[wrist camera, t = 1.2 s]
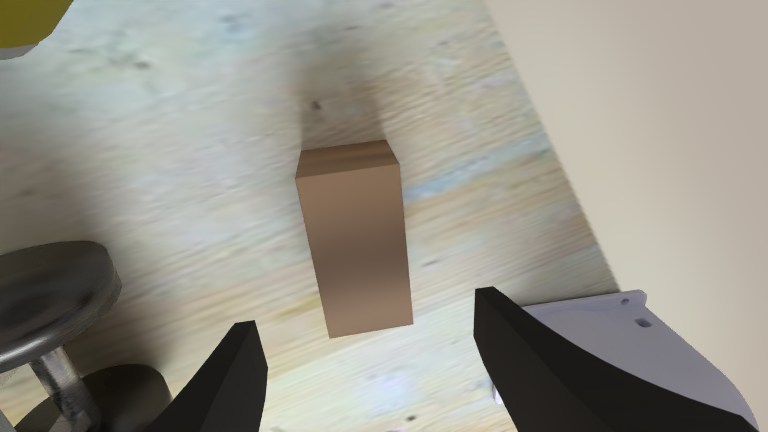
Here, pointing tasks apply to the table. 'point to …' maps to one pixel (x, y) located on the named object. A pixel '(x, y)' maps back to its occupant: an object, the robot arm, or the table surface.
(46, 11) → the alarm clock
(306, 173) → the block
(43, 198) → the table surface
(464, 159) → the table surface
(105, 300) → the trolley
